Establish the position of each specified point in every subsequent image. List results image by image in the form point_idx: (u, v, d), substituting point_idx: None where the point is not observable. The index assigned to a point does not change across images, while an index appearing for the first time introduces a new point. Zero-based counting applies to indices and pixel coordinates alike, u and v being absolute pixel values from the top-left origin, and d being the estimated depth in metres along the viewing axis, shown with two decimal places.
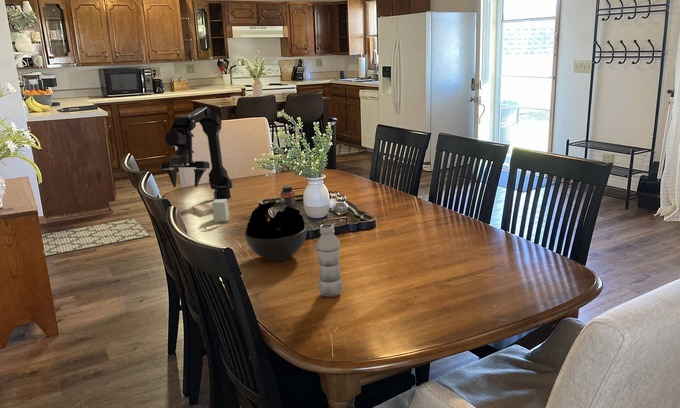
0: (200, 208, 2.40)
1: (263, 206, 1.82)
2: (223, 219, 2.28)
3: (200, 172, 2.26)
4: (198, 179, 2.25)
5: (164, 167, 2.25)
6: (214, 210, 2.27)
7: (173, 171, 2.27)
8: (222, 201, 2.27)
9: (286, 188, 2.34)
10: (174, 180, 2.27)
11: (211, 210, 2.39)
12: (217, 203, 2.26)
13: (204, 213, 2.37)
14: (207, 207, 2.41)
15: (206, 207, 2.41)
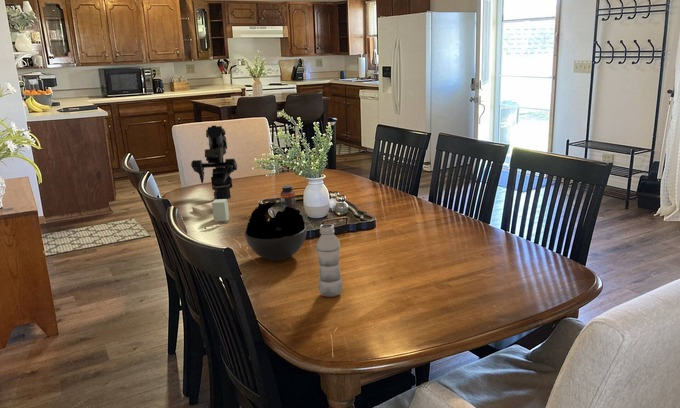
0: (200, 208, 2.40)
1: (263, 206, 1.82)
2: (223, 219, 2.28)
3: (228, 171, 2.45)
4: (226, 175, 2.43)
5: (195, 163, 2.43)
6: (214, 210, 2.27)
7: (202, 170, 2.45)
8: (222, 201, 2.27)
9: (286, 188, 2.34)
10: (202, 177, 2.43)
11: (211, 211, 2.39)
12: (217, 203, 2.26)
13: (204, 213, 2.37)
14: (207, 207, 2.41)
15: (206, 207, 2.41)
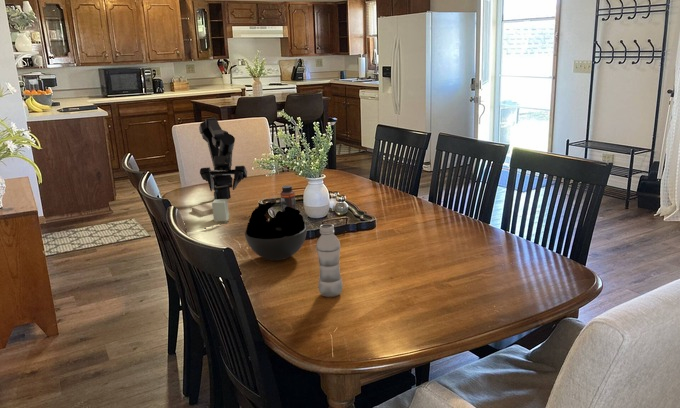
0: (199, 208, 2.40)
1: (263, 206, 1.82)
2: (223, 219, 2.28)
3: (238, 178, 2.36)
4: (236, 183, 2.34)
5: (204, 171, 2.34)
6: (214, 210, 2.27)
7: (211, 177, 2.36)
8: (222, 201, 2.27)
9: (286, 188, 2.34)
10: (211, 185, 2.34)
11: (211, 211, 2.39)
12: (217, 203, 2.26)
13: (204, 213, 2.37)
14: (206, 207, 2.41)
15: (205, 207, 2.41)
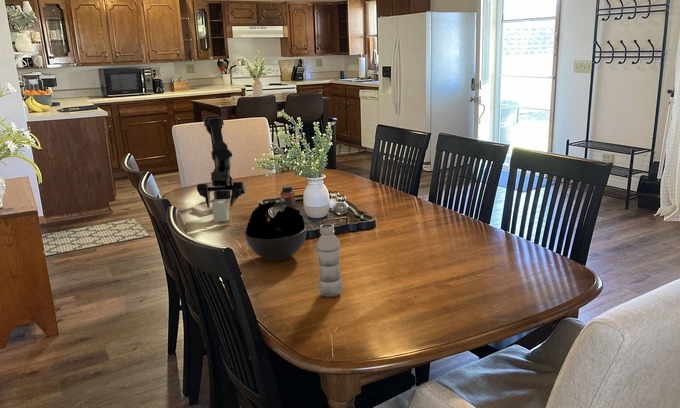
0: (200, 208, 2.40)
1: (263, 206, 1.82)
2: (223, 219, 2.28)
3: (236, 195, 2.31)
4: (234, 199, 2.29)
5: (201, 187, 2.29)
6: (214, 210, 2.27)
7: (208, 193, 2.31)
8: (222, 201, 2.27)
9: (286, 188, 2.34)
10: (208, 201, 2.29)
11: (211, 210, 2.39)
12: (217, 203, 2.26)
13: (204, 213, 2.37)
14: (207, 207, 2.41)
15: (206, 207, 2.41)
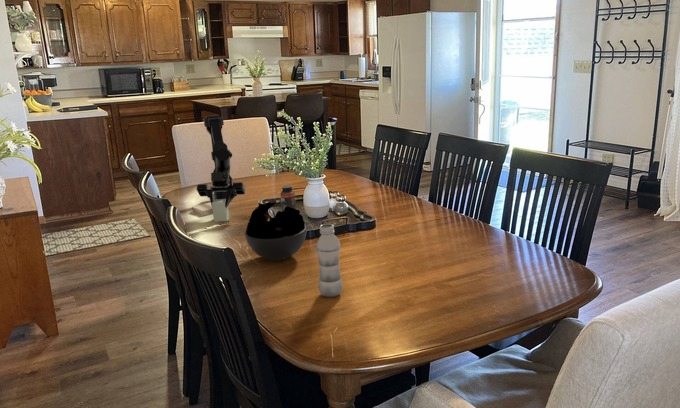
0: (200, 208, 2.40)
1: (263, 206, 1.82)
2: (223, 219, 2.28)
3: (231, 195, 2.31)
4: (229, 200, 2.29)
5: (201, 187, 2.29)
6: (214, 209, 2.27)
7: (213, 194, 2.31)
8: (222, 201, 2.27)
9: (286, 188, 2.34)
10: None
11: (211, 210, 2.39)
12: (217, 203, 2.26)
13: (204, 213, 2.37)
14: (207, 207, 2.41)
15: (206, 207, 2.41)
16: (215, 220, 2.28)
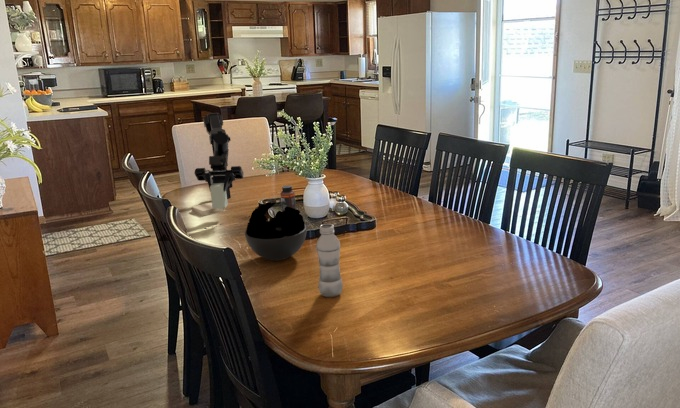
0: (200, 208, 2.40)
1: (263, 206, 1.82)
2: (221, 203, 2.26)
3: (229, 179, 2.29)
4: (227, 184, 2.27)
5: (199, 171, 2.27)
6: (212, 193, 2.25)
7: (211, 178, 2.29)
8: (220, 185, 2.25)
9: (286, 188, 2.34)
10: None
11: (211, 211, 2.39)
12: (215, 187, 2.24)
13: (204, 213, 2.37)
14: (207, 207, 2.41)
15: (206, 207, 2.41)
16: (213, 204, 2.26)
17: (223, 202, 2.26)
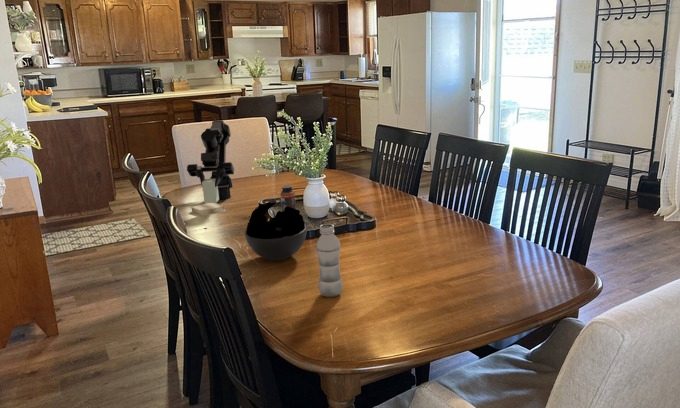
0: (200, 208, 2.40)
1: (263, 206, 1.82)
2: (213, 198, 2.35)
3: (220, 175, 2.39)
4: (218, 180, 2.36)
5: (191, 167, 2.36)
6: (204, 189, 2.34)
7: (202, 174, 2.38)
8: (212, 180, 2.35)
9: (286, 188, 2.34)
10: None
11: (211, 211, 2.39)
12: (207, 182, 2.33)
13: (204, 213, 2.37)
14: (207, 207, 2.41)
15: (206, 207, 2.41)
16: (205, 199, 2.35)
17: (215, 197, 2.35)
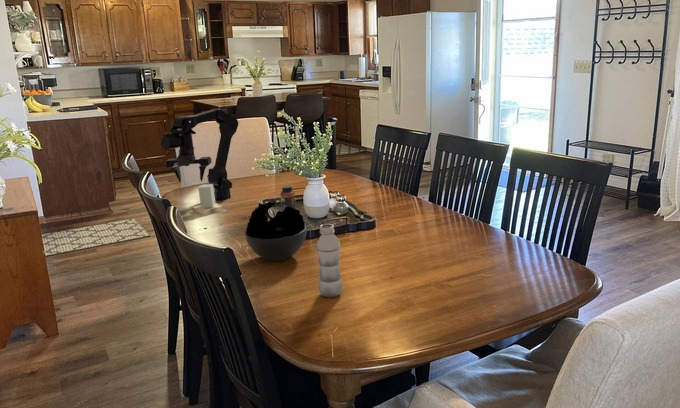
0: (200, 208, 2.40)
1: (263, 206, 1.82)
2: (209, 203, 2.40)
3: (203, 167, 2.46)
4: (203, 174, 2.46)
5: (169, 166, 2.42)
6: (200, 194, 2.39)
7: (177, 167, 2.46)
8: (208, 186, 2.40)
9: (286, 188, 2.34)
10: (179, 176, 2.46)
11: (212, 210, 2.39)
12: (203, 188, 2.39)
13: (205, 213, 2.37)
14: None
15: None
16: (202, 204, 2.41)
17: (211, 202, 2.40)
